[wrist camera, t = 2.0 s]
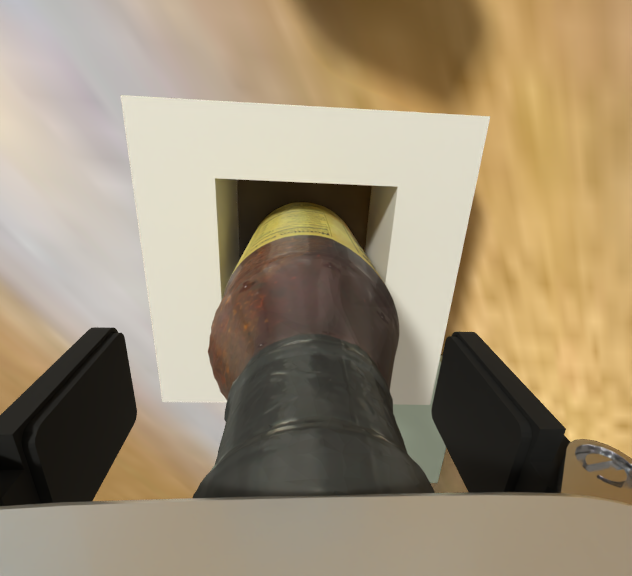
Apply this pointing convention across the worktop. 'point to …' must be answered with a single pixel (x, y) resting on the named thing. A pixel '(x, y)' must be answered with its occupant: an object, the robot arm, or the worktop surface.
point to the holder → (297, 166)
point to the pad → (421, 435)
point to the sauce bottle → (307, 367)
